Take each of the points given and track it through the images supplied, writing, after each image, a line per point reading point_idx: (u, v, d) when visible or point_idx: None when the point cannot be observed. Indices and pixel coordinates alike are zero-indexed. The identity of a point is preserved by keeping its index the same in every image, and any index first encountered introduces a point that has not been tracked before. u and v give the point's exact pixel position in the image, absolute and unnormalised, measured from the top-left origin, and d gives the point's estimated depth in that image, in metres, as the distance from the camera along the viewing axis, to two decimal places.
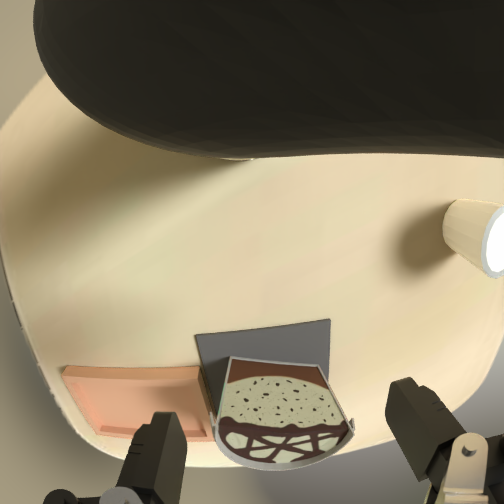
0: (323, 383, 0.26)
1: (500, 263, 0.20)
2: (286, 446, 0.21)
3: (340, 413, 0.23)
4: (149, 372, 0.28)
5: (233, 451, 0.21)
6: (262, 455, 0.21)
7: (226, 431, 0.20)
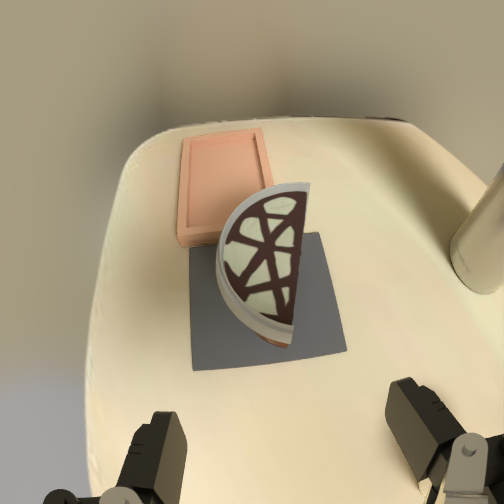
0: None
1: None
2: (266, 253, 0.20)
3: None
4: None
5: (258, 202, 0.22)
6: (246, 229, 0.21)
7: (297, 197, 0.23)
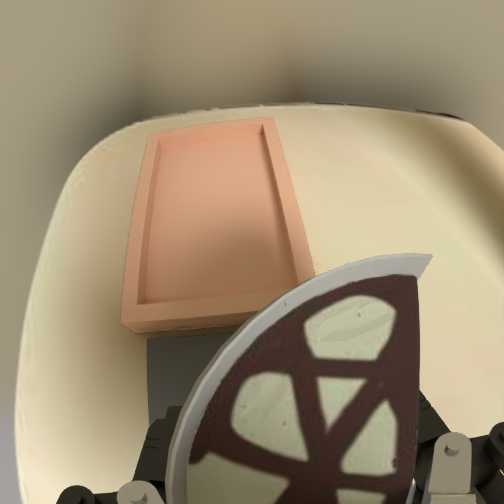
0: None
1: None
2: (312, 494, 0.05)
3: None
4: None
5: (288, 317, 0.07)
6: (252, 418, 0.06)
7: (395, 296, 0.07)
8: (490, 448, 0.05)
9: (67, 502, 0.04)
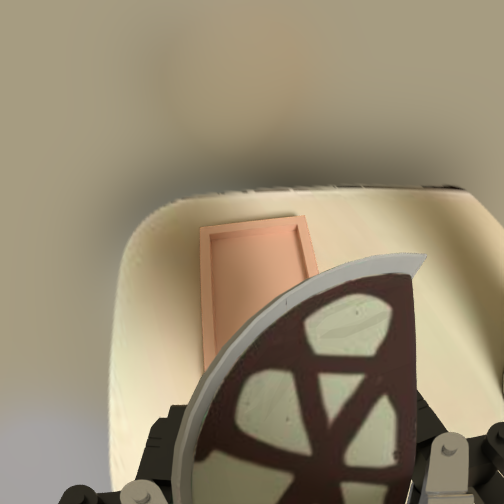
0: None
1: None
2: (317, 487, 0.05)
3: None
4: None
5: (288, 315, 0.07)
6: (256, 414, 0.06)
7: (391, 294, 0.08)
8: (487, 449, 0.05)
9: (70, 501, 0.04)
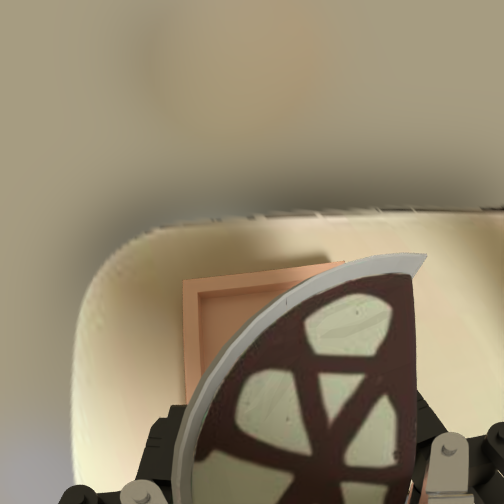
0: None
1: None
2: (317, 487, 0.05)
3: None
4: None
5: (289, 315, 0.07)
6: (256, 414, 0.06)
7: (391, 294, 0.08)
8: (487, 449, 0.05)
9: (70, 501, 0.04)
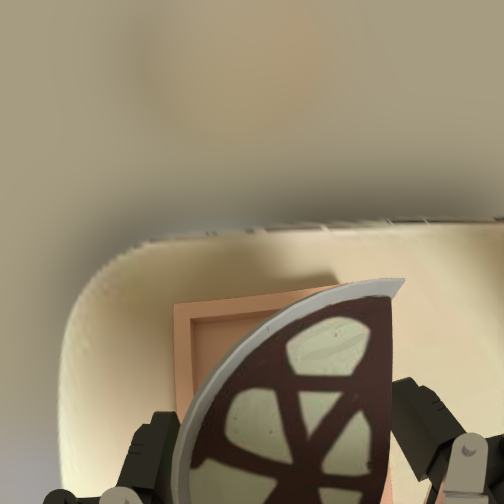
0: None
1: None
2: (298, 491, 0.06)
3: None
4: None
5: (272, 339, 0.08)
6: (243, 428, 0.07)
7: (370, 316, 0.08)
8: None
9: None
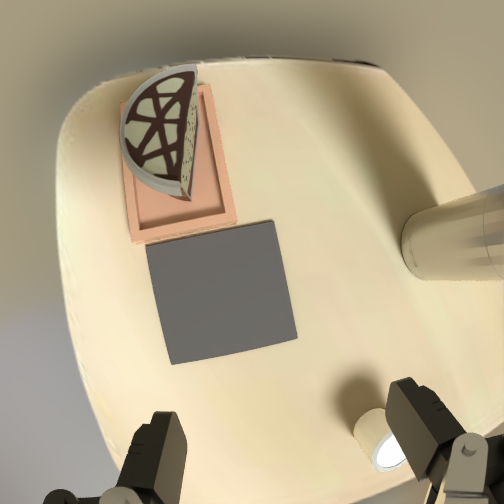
0: (188, 192, 0.28)
1: (382, 456, 0.25)
2: (157, 126, 0.22)
3: (182, 187, 0.24)
4: None
5: (152, 85, 0.22)
6: (142, 109, 0.22)
7: (185, 77, 0.22)
8: None
9: None
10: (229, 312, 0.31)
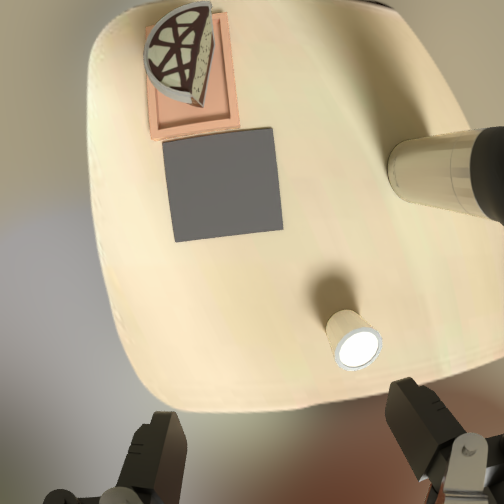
0: (200, 100, 0.31)
1: (345, 353, 0.35)
2: (175, 49, 0.24)
3: (193, 97, 0.27)
4: None
5: (172, 17, 0.23)
6: (163, 36, 0.23)
7: (200, 10, 0.23)
8: None
9: None
10: (227, 200, 0.37)
